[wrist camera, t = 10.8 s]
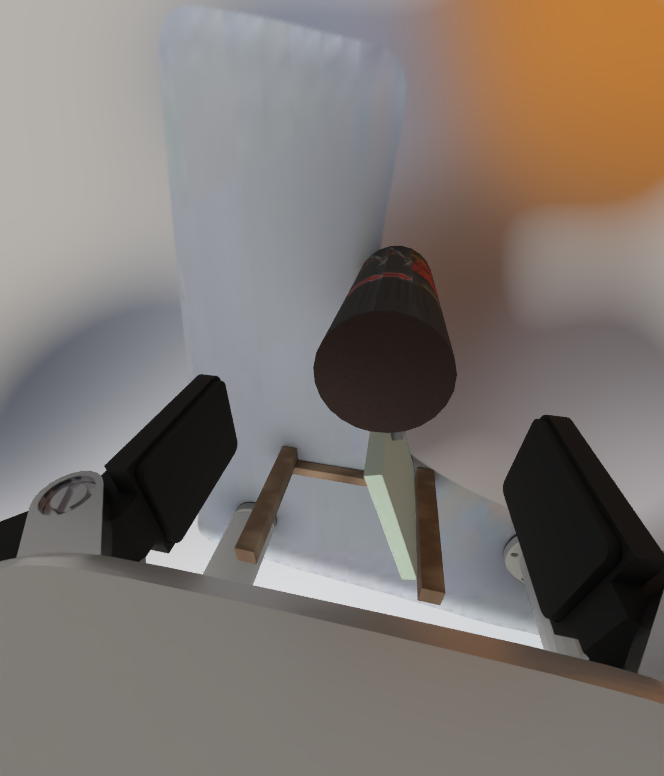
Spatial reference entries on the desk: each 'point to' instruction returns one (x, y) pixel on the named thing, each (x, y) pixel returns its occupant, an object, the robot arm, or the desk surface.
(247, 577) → the travel mug
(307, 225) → the desk surface
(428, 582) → the door frame
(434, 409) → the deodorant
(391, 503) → the door
